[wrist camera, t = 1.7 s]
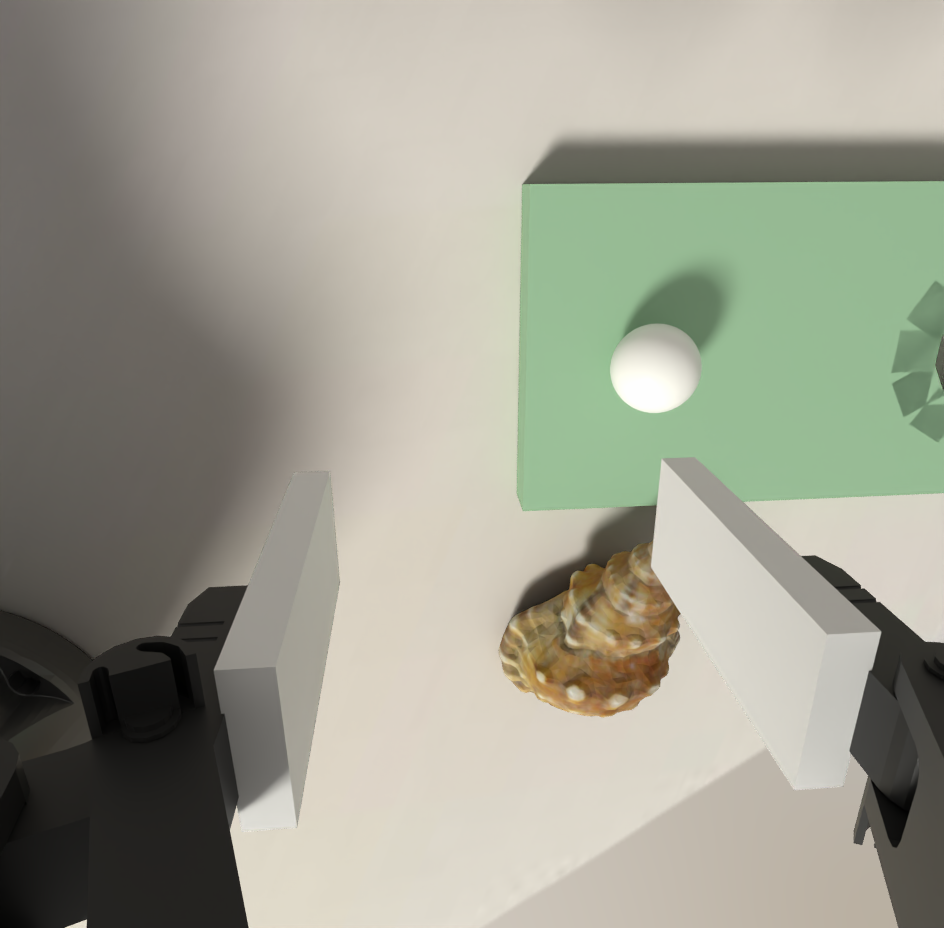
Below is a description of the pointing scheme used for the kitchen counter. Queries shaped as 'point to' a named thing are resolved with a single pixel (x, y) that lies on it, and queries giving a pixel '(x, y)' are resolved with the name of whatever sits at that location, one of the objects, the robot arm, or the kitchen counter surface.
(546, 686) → the seashell
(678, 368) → the ball
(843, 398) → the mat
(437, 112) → the kitchen counter surface
